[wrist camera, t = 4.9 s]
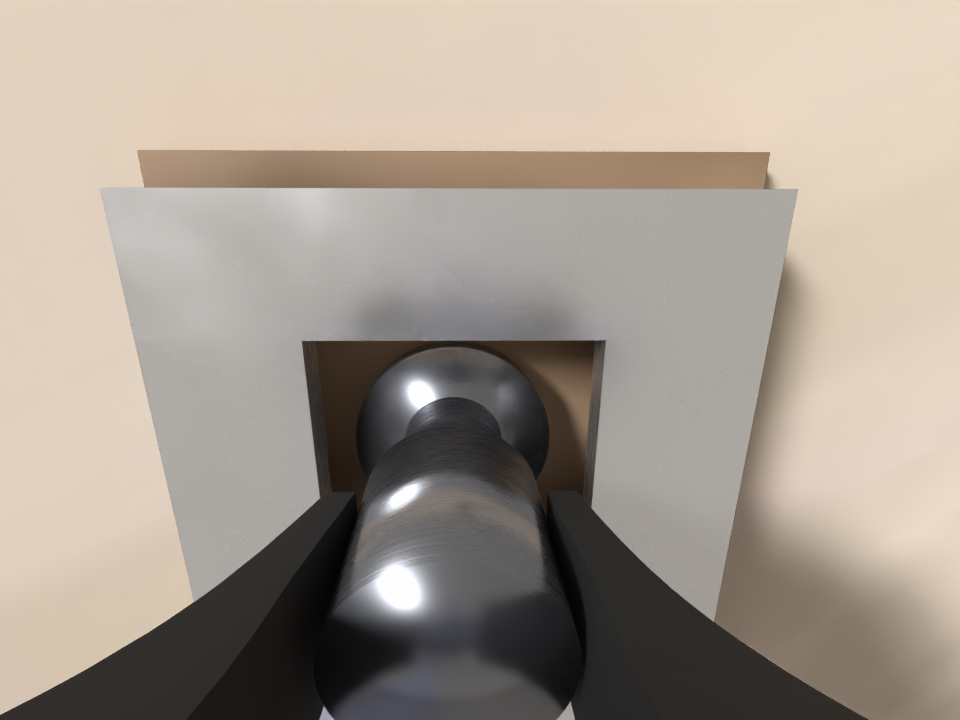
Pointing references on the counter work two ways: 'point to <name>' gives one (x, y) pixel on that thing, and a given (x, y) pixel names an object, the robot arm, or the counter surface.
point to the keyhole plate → (452, 317)
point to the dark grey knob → (450, 552)
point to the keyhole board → (548, 363)
